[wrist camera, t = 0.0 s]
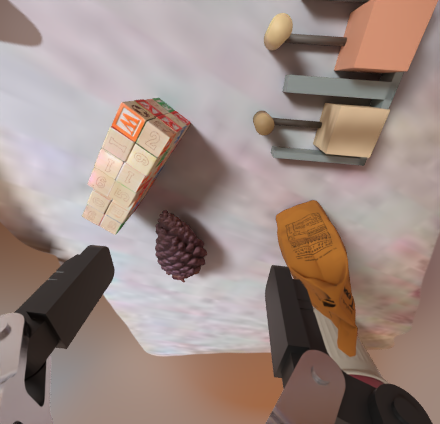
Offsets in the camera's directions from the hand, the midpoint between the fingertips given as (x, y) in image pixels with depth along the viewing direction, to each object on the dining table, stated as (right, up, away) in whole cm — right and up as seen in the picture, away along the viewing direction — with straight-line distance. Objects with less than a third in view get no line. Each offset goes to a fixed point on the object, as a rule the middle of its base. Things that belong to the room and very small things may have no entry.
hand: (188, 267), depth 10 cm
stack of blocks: (-12, +12, +29) cm, 33 cm away
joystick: (+16, +25, +18) cm, 35 cm away
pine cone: (-6, -2, +36) cm, 37 cm away
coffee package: (+18, 0, +33) cm, 38 cm away
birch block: (+15, +17, +23) cm, 32 cm away
